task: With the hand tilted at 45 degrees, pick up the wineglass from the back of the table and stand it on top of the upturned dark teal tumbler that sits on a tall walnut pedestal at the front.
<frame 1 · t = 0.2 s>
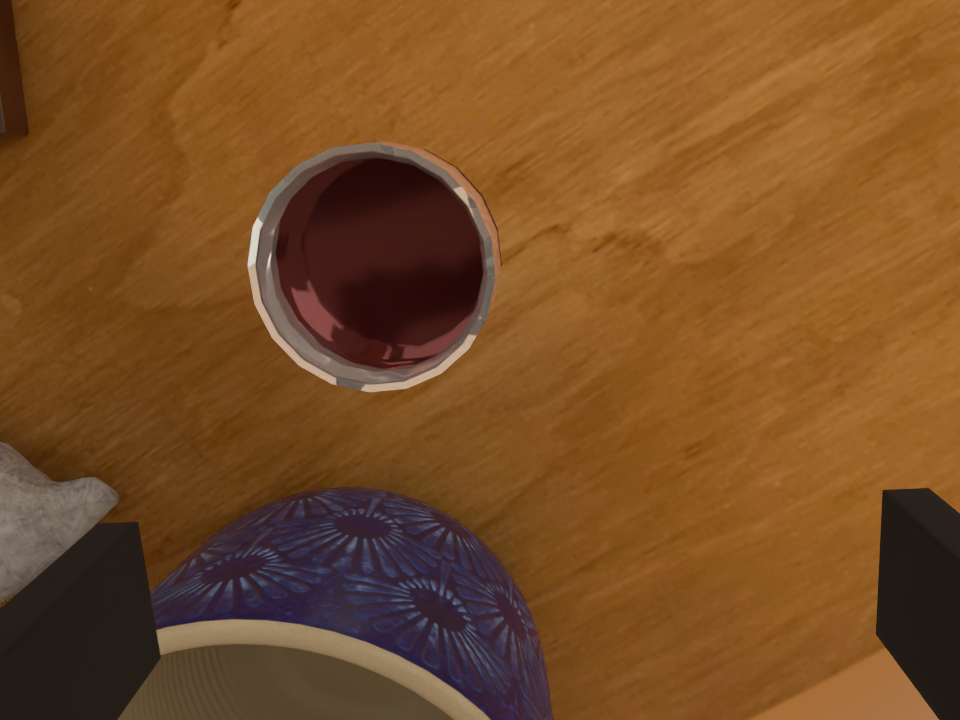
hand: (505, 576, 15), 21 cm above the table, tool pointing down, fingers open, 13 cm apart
wineglass: (427, 230, 35), on the table
planter: (372, 610, 39), on the table
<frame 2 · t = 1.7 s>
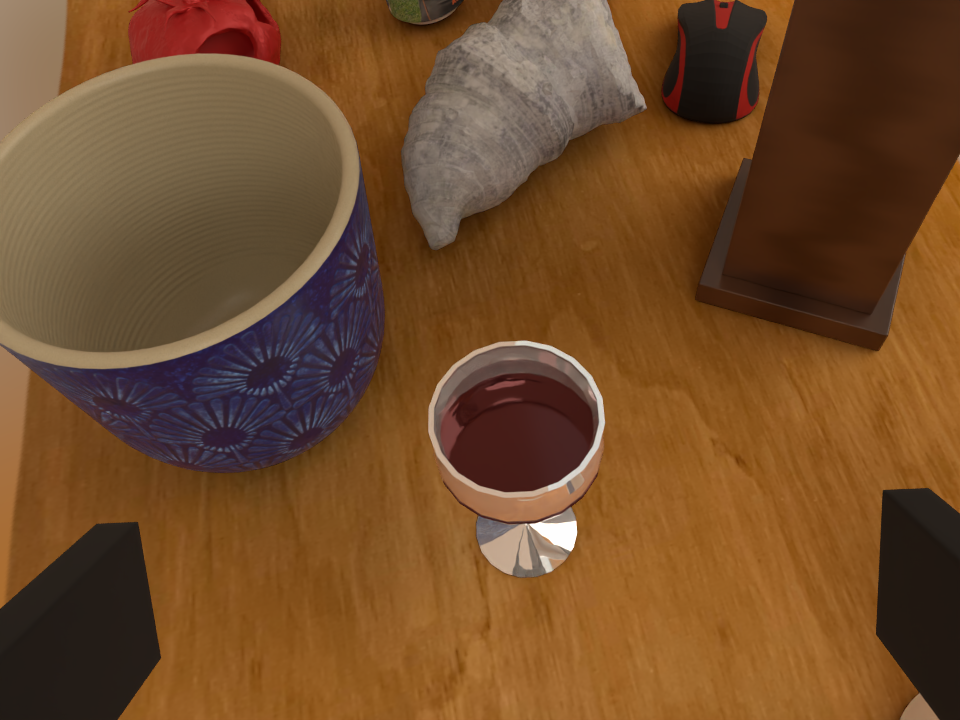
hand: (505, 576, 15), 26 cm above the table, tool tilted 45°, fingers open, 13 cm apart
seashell: (525, 162, 55), on the table
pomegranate: (225, 87, 62), on the table
beverage can: (421, 10, 64), on the table
wineglass: (526, 529, 43), on the table
computer mouse: (712, 70, 59), on the table
planter: (264, 377, 48), on the table
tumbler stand: (803, 257, 50), on the table
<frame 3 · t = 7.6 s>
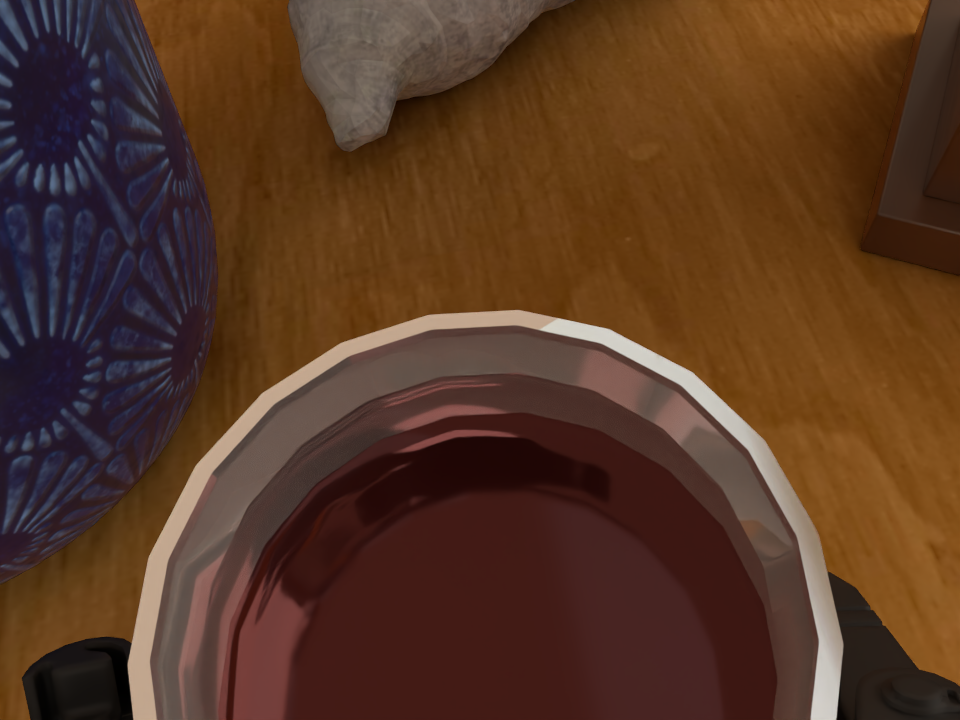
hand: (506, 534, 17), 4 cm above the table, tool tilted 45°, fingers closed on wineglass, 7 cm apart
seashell: (525, 16, 31), on the table
planter: (3, 399, 24), on the table
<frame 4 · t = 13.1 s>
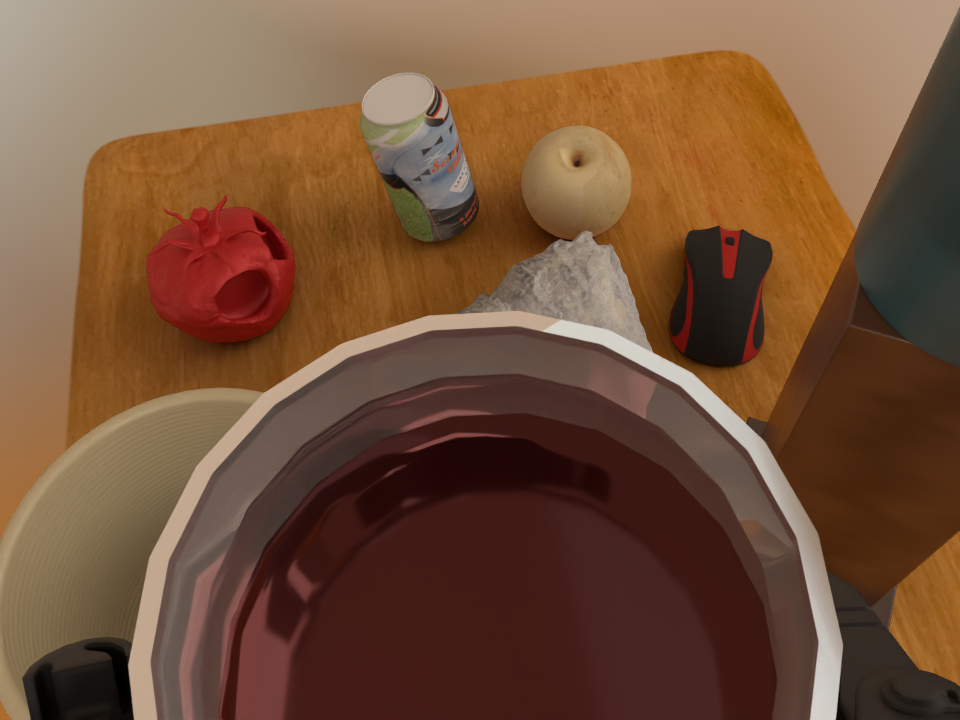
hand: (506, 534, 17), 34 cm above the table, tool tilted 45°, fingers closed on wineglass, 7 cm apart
apple: (574, 216, 65), on the table
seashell: (534, 403, 57), on the table
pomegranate: (239, 304, 63), on the table
beverage can: (432, 220, 65), on the table
computer mouse: (719, 302, 60), on the table
planter: (279, 645, 50), on the table
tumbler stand: (806, 525, 51), on the table
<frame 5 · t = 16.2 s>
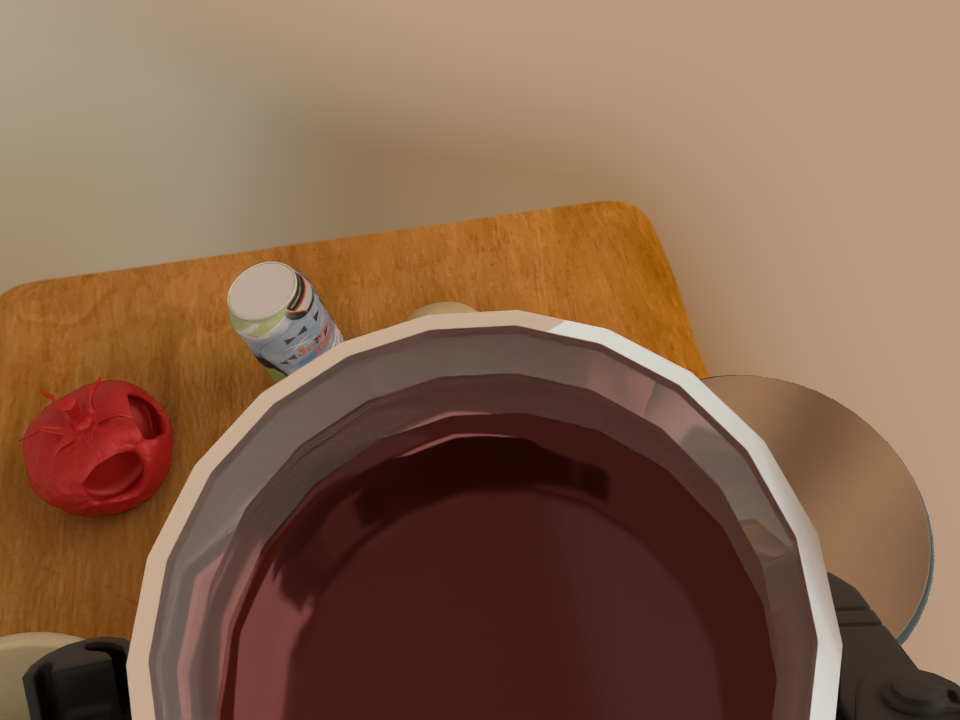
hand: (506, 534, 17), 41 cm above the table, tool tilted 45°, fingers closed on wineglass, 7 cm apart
apple: (452, 379, 67), on the table
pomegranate: (122, 468, 65), on the table
beverage can: (315, 380, 67), on the table
when the fingers open (39 cm above the table, at t = 18.7 s): wineglass stays where it is, resting on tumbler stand.
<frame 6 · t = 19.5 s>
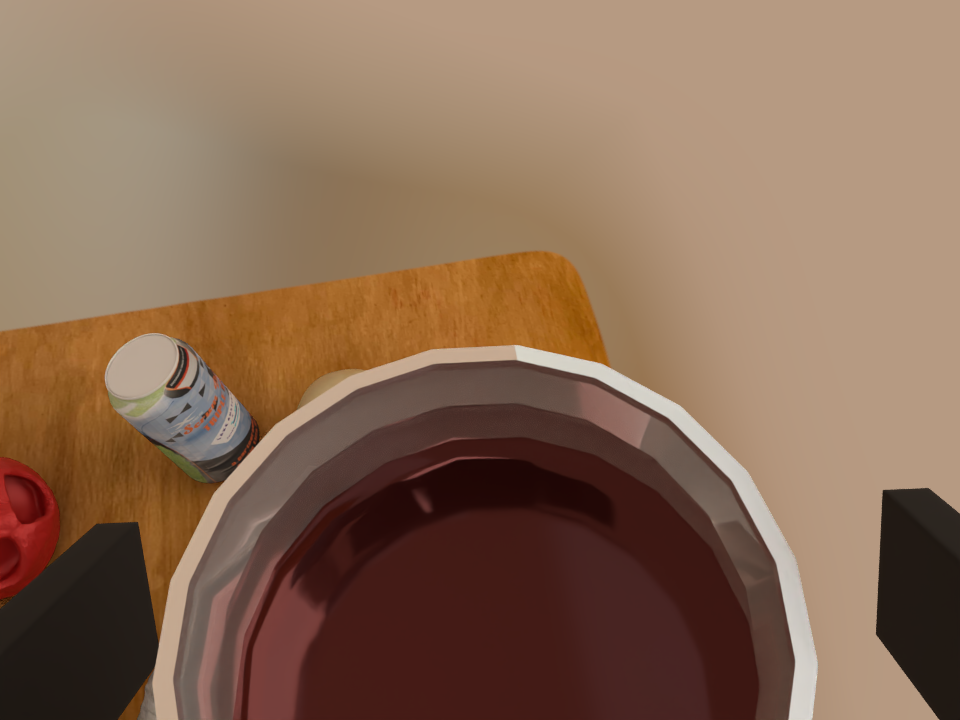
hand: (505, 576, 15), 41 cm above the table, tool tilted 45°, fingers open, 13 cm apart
apple: (361, 448, 63), on the table
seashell: (288, 677, 55), on the table
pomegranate: (9, 548, 61), on the table
beverage can: (217, 450, 63), on the table
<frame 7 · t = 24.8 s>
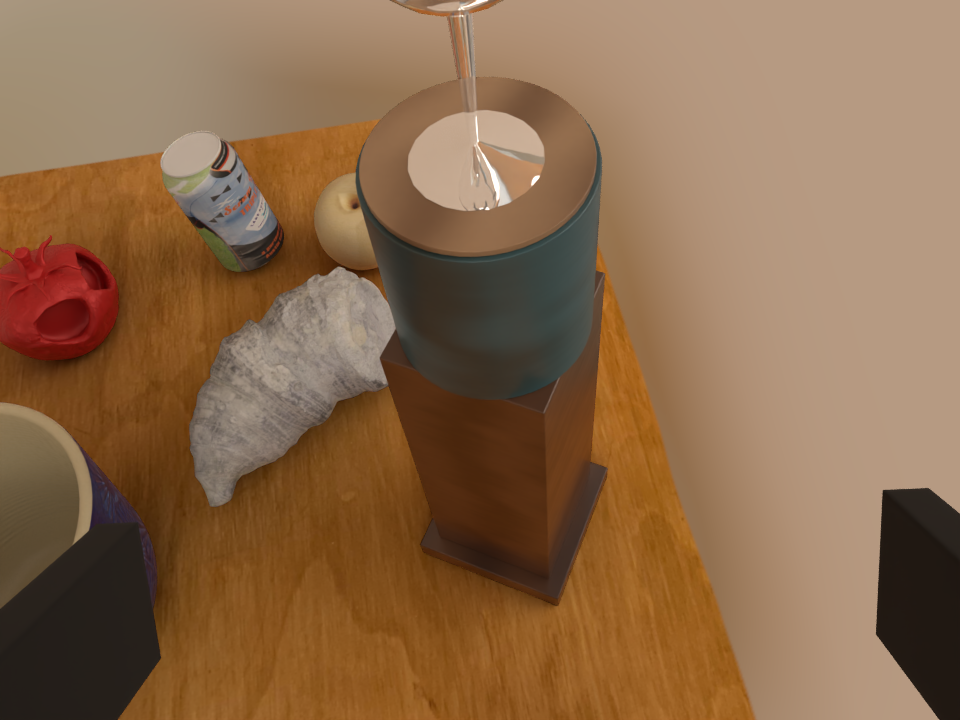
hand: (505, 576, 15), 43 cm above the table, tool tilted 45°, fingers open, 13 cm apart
apple: (369, 248, 75), on the table
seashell: (310, 411, 67), on the table
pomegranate: (75, 326, 73), on the table
beverage can: (248, 252, 76), on the table
wineglass: (476, 162, 31), point 35 cm above the table, touching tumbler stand
planter: (72, 614, 60), on the table
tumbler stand: (516, 514, 61), on the table
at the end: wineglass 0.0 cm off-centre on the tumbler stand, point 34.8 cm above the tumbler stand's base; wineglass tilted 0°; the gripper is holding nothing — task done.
